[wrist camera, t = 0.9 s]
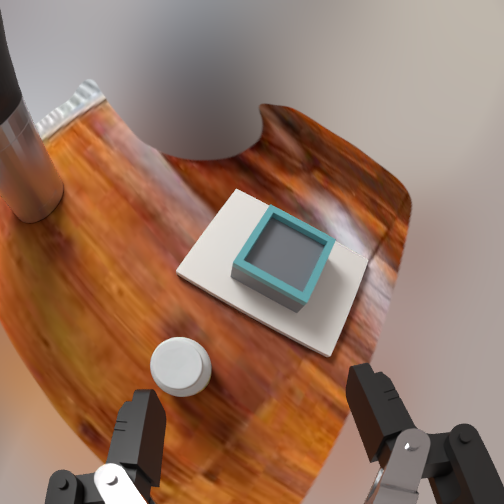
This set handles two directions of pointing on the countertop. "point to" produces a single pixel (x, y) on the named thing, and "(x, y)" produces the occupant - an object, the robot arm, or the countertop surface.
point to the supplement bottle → (181, 367)
